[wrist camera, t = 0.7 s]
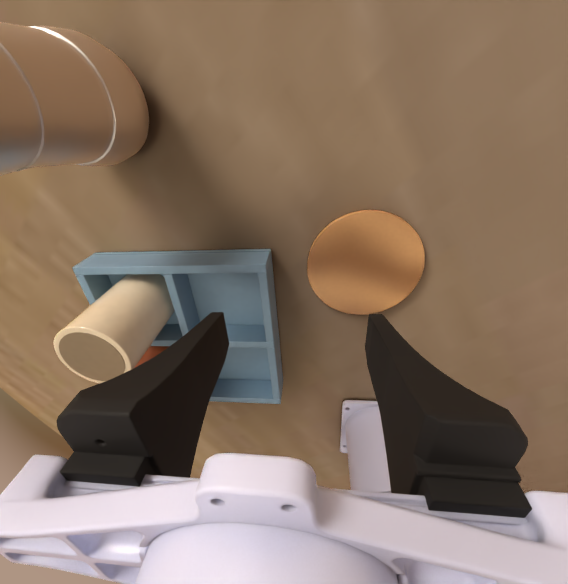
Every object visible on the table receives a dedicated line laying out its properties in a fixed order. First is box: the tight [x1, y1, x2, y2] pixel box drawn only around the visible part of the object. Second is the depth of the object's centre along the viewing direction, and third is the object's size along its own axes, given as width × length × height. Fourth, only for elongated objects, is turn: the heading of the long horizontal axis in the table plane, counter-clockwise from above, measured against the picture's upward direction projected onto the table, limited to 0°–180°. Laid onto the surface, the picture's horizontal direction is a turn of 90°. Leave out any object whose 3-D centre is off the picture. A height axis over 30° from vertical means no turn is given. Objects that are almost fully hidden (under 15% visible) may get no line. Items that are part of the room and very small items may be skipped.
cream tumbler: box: [54, 274, 175, 383], centre depth 23 cm, size 5×5×8 cm
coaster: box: [307, 210, 425, 315], centre depth 23 cm, size 9×9×1 cm
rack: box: [72, 249, 283, 404], centre depth 27 cm, size 15×15×3 cm
